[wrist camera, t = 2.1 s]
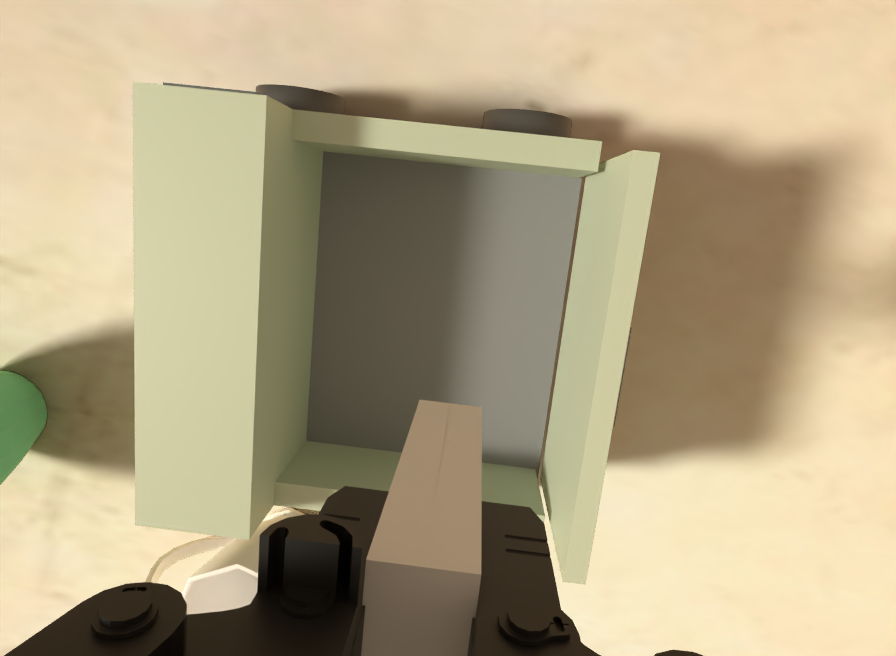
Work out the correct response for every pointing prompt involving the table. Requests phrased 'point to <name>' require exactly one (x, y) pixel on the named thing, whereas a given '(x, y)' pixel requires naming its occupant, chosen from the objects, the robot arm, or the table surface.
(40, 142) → the table surface
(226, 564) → the cup
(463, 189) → the pickup truck
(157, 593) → the robot arm
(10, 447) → the mug
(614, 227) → the panel
